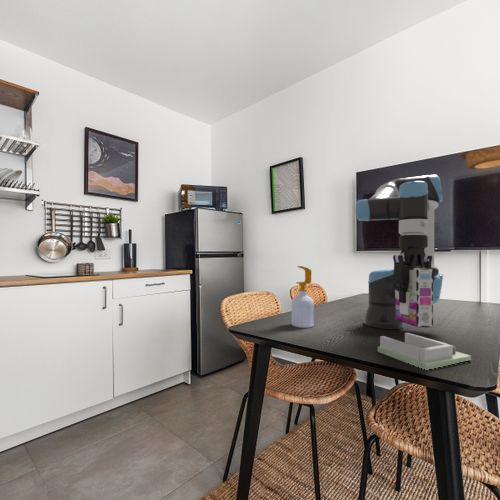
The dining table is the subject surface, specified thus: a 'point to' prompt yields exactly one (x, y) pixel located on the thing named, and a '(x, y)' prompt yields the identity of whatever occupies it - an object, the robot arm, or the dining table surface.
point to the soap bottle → (303, 304)
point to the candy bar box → (418, 298)
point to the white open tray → (421, 351)
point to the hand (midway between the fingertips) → (412, 313)
